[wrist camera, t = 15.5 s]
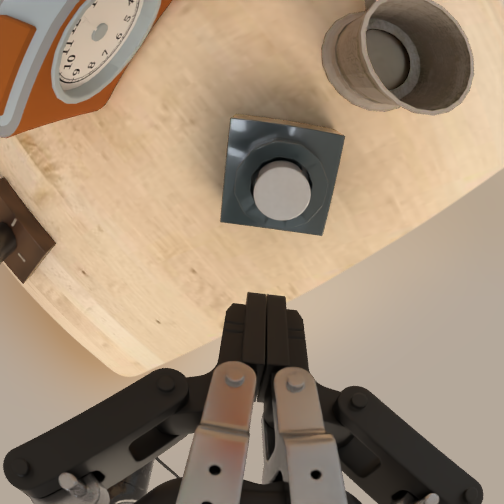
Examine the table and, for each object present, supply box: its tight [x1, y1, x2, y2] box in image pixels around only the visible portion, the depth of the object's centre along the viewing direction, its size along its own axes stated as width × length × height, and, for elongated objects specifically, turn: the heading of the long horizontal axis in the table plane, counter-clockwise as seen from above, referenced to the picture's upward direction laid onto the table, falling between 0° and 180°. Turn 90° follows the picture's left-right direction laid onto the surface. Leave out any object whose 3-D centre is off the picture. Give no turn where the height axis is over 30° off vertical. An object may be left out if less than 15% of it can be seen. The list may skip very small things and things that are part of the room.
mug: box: [322, 0, 474, 115], centre depth 15 cm, size 14×10×12 cm
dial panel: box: [0, 178, 56, 284], centre depth 31 cm, size 12×9×3 cm
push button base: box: [220, 114, 345, 236], centre depth 25 cm, size 9×9×6 cm
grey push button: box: [253, 160, 311, 220], centre depth 22 cm, size 4×4×2 cm
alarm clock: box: [0, 0, 172, 138], centre depth 15 cm, size 15×8×14 cm, turn 144°
